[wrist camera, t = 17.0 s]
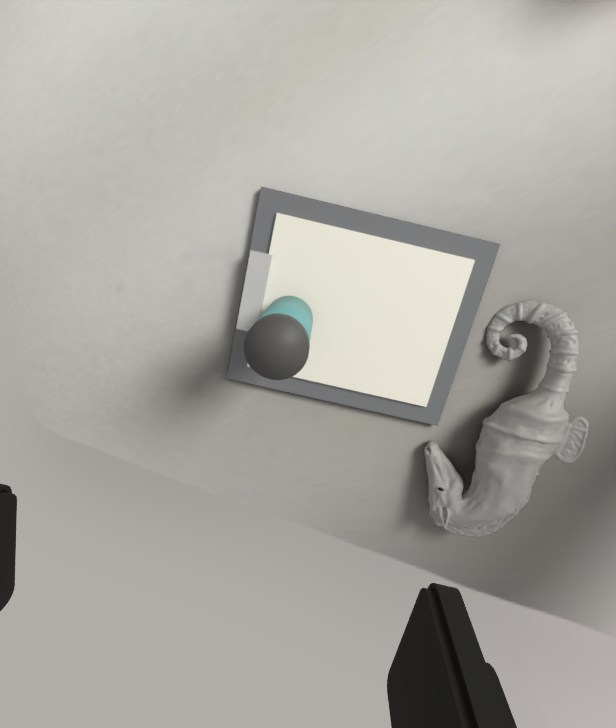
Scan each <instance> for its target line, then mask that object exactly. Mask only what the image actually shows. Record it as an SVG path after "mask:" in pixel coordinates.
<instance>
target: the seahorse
mask: <svg viewBox="0 0 616 728" xmlns="http://www.w3.org/2000/svg"><path fill="white" fill-rule="evenodd" d="M514 321H526V322H527V323H529V324H531V323H532V324H535V325H537V326H539V327H540V328H543V329H544V330H545V331H546V333H547V337H549V338H550V341H551V350H550V351H549V353H550V358H549V362H548V364H547V371H546V374H545V377H544V378H543V380H542V381H541V382H540V383H539V385H538V387H537V388H536V389H535V390H534V391H533V392H531V393H528V394H525V395H521V396H518V397H515V398H513V399H510V400H508V401H506V402H503V403H502V404H501V405H500V406H499V408H498V409H497V410H496V411H495V412H494V413H493V414H492V415H491V416H490V417H486V418H484V420H483V422H482V423H483V428H482V431H481V433H480V437H479V440H478V441H477V443H476V447H475V448H476V459H475V471H474V472H473V475H472V481H471V485H470V488H469V489H468V491H466V492H465V493H462V491H463V487H464V485H463V480H462V478H461V476H460V475H459V474H458V473H457V472H456V470H455V468H454V466H453V465H452V463H451V462H450V461H449V460H448V458H447V457H446V456H445V455H444V453H443V452H442V451H441V450H440V448H439V446H438V444H437V443H435V442H434V441H429V442H428V444H427V445H426V446H425V448H424V454H425V459H426V467H427V474H428V483H429V495H428V501H429V504H430V509H429V515H430V517H431V518H432V519H433V520H434V522H435V524H436V525H438V526H440V527H442V526H443V527H444V529H445V530H448V531H450V532H451V533H455V534H461V535H467V536H470V537H474V536H476V537H482V536H486V535H488V534H491V533H494V532H497V530H498V529H499V528H502V527H504V525H506V524H507V523H508V521H509V520H511V519H512V518H513V517H515V516H516V515H517V514H518V512H519V511H520V510H521V509H522V508H523V507H524V506H525V505H526V503H527V502H528V501H529V499H530V495H531V489H532V486H533V483H534V482H535V479H536V477H537V476H538V475H539V468H540V467H541V466H542V465H543V463H544V462H545V461H546V460H548V459H549V458H550V457H551V456H554V457H556V458H557V459H559V460H560V461H562V462H563V463H564V464H569V463H573V462H574V461H575V460H576V459H577V458H578V457H579V456H580V454H581V453H582V451H583V449H584V447H585V442H586V439H587V435H588V428H589V422H588V421H587V420H586V419H585V418H583V417H581V416H576V417H574V418H572V419H571V420H569V414H568V413H567V412H566V411H565V410H564V408H563V405H564V400H565V397H566V394H567V393H568V392H569V385H570V382H571V380H572V377H573V375H574V372H576V370H577V368H576V363H577V358H578V356H579V354H580V353H579V344H578V337H577V334H578V331H577V330H576V329H575V327H574V325H573V323H572V321H571V320H570V319H569V318H568V316H567V313H566V312H565V311H561V310H560V309H558V308H557V307H555V306H553V305H551V304H547V303H544V302H535V301H524V302H519V303H515V304H512V305H509V306H507V307H505V308H503V309H502V310H500V311H499V312H498V313H497V314H496V315H495V316H494V317H493V318H492V320H491V322H490V324H489V326H488V328H487V335H486V343H487V346H488V348H489V350H490V351H491V352H492V353H493V355H495V356H497V357H499V358H502V359H507V360H508V361H511V360H513V359H516V358H518V357H519V356H520V355H521V354H523V353H524V352H526V348H527V340H526V338H525V337H524V336H522V335H520V334H511V335H509V336H508V337H507V339H517V340H518V342H519V345H518V346H517V347H516V348H515V349H512V348H510V347H509V348H506V347H504V346H502V345H501V344H500V342H499V334H500V332H501V331H502V330H503V329H504V327H505V326H506V325H508V324H511V323H512V322H514Z"/></svg>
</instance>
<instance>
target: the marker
mask: <svg viewBox="0 0 616 728" xmlns="http://www.w3.org/2000/svg"><path fill="white" fill-rule="evenodd" d="M312 325H313V315H312V311H311V309H310V307H309V306H308V305H307V303H306V302H304V301H303V300H302V299H300V298H298V297H295V296H283V297H280V298H278V299H276V300H274V301H273V302H272V303H271V304H270V306H269V307H268V308H267V309H266V311H265V312H264V313H263V314H262V316H261V317H260V318H259V320H257V321H256V322H255V323H254V324H253V326H252V327H251V328H250V329H249V331H248V333H247V334H246V337H245V340H244V355H245V358H246V360H247V362H248V364H249V366H250V367H251V368H252V369H253V370H254V371H255V372H256V373H257V374H259V375H260V376H262V377H265V378H267V379H271V380H284V379H288V378H290V377H292V376H294V375H296V374H297V373H298V372H299V371H300V370H301V369H302V368H303V367H304V365H305V364H306V361H307V359H308V355H309V348H310V337H311V331H312Z"/></svg>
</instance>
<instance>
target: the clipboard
mask: <svg viewBox="0 0 616 728" xmlns="http://www.w3.org/2000/svg"><path fill="white" fill-rule="evenodd" d="M499 246H500V244H498V243H493V242H489V241H485V240H481V239H477V238H473V237H468V236H464V235H460V234H456V233H452V232H448V231H444V230H439V229H435V228H431V227H427V226H423V225H419V224H414V223H410V222H406V221H402V220H398V219H394V218H390V217H385V216H381V215H377V214H373V213H369V212H365V211H360V210H356V209H352V208H348V207H344V206H340V205H336V204H331V203H327V202H323V201H319V200H315V199H311V198H306V197H302V196H298V195H294V194H290V193H286V192H282V191H277V190H273V189H269V188H265V187H261V190H260V196H259V201H258V207H257V212H256V218H255V223H254V229H253V234H252V240H251V245H250V251H249V256H248V262H247V267H246V273H245V278H244V284H243V289H242V295H241V300H240V306H239V311H238V317H237V322H236V328H235V333H234V339H233V344H232V350H231V355H230V361H229V366H228V372H227V379H232V380H236V381H241V382H245V383H250V384H254V385H259V386H263V387H267V388H272V389H276V390H281V391H285V392H290V393H294V394H298V395H303V396H307V397H312V398H316V399H321V400H325V401H330V402H334V403H338V404H343V405H347V406H352V407H356V408H361V409H365V410H370V411H374V412H378V413H383V414H387V415H392V416H396V417H401V418H405V419H410V420H414V421H418V422H423V423H427V424H432V425H436V426H438V423H439V420H440V417H441V414H442V411H443V408H444V405H445V402H446V400H447V397H448V394H449V391H450V388H451V385H452V382H453V379H454V376H455V373H456V371H457V368H458V365H459V362H460V359H461V356H462V353H463V350H464V347H465V345H466V342H467V339H468V336H469V333H470V330H471V327H472V324H473V321H474V319H475V316H476V313H477V310H478V307H479V304H480V301H481V298H482V295H483V293H484V290H485V287H486V284H487V281H488V278H489V275H490V272H491V269H492V266H493V264H494V261H495V258H496V255H497V252H498V249H499ZM283 296H295V297H298V298H300V299H302V300H303V301H304V302H306V303H307V305H308V306H309V307H310V309H311V311H312V315H313V325H312V331H311V337H310V348H309V355H308V359H307V361H306V364H305V365H304V367H303V368H302V369H301V370H300V371H299V372H298V373H297V374H296V375H294V376H292V377H290V378H288V379H284V380H271V379H267V378H265V377H262V376H260V375H259V374H257V373H256V372H255V371H254V370H253V369H252V368H251V367H250V366H249V364H248V362H247V360H246V358H245V355H244V340H245V337H246V334H247V333H248V331H249V329H250V328H251V327H252V326H253V324H254V323H255V322H256V321H257V320H259V318H260V317H261V316H262V314H263V313H264V312H265V311H266V309H267V308H268V307H269V306H270V304H271V303H272V302H273V301H274V300H276V299H278V298H280V297H283Z"/></svg>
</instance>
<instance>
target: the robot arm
mask: <svg viewBox="0 0 616 728" xmlns="http://www.w3.org/2000/svg"><path fill="white" fill-rule="evenodd" d="M16 510H17V497H16V496H15V494H12V491H11V488H10V486H7V485H3V484H0V611H1V610H2V609H3V608H4V606H5V605H6V604H7V603H8V601H9V600H10V598H11V596H12V593H13V591H14V586H15V549H16ZM387 692H388V701H389V709H390V717H391V726H392V728H517V727H516V724H515V721H514V719H513V716H512V714H511V711H510V708H509V705H508V703H507V700H506V697H505V695H504V692H503V689H502V687H501V684H500V681H499V679H498V676H497V674H496V672H495V670H494V668H493V667H492V666H491V665H490V664H489V663H486V662H485V660H484V657H483V655H482V652H481V649H480V646H479V643H478V641H477V638H476V635H475V632H474V630H473V627H472V624H471V621H470V618H469V616H468V613H467V610H466V607H465V604H464V602H463V599H462V596H461V594H460V592H459V590H458V589H457V588H453V587H448V586H444V585H440V584H436V583H431V584H430V585H429V587H428V589H426V588H422V589H421V590H420V592H419V595H418V598H417V600H416V603H415V605H414V608H413V611H412V613H411V616H410V618H409V621H408V624H407V626H406V629H405V632H404V634H403V637H402V639H401V642H400V644H399V647H398V650H397V652H396V655H395V658H394V660H393V663H392V665H391V668H390V670H389V674H388V680H387Z"/></svg>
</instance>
